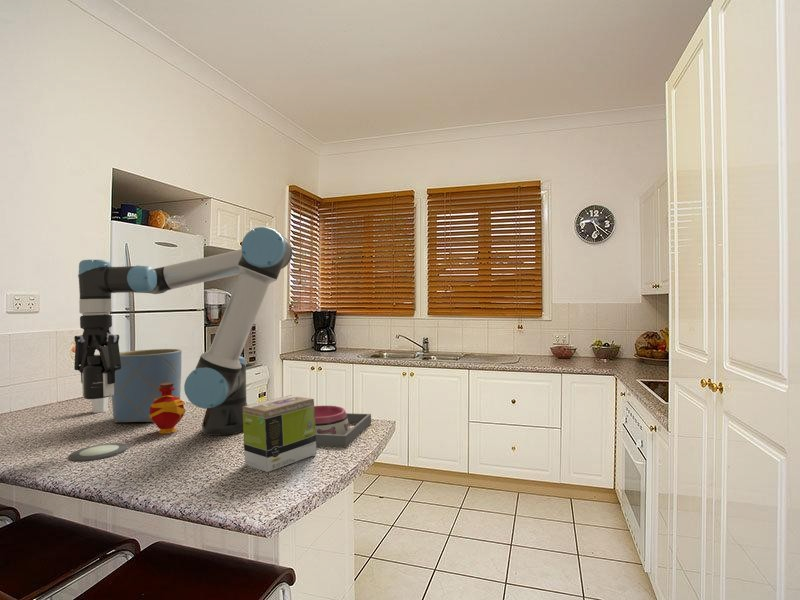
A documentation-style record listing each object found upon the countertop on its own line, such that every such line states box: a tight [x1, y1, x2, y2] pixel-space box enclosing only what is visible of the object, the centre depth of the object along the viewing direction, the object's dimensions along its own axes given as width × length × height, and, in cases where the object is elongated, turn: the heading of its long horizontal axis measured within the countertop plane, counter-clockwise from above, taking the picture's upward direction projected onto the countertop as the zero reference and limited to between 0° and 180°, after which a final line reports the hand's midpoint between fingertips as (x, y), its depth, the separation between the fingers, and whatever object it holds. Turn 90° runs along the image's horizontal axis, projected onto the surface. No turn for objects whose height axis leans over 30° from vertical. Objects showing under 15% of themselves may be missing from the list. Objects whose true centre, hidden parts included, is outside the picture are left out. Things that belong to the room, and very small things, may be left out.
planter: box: [111, 348, 183, 424], centre depth 161 cm, size 23×23×24 cm
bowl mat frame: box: [316, 412, 372, 448], centre depth 136 cm, size 24×24×3 cm
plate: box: [69, 442, 128, 462], centre depth 122 cm, size 13×13×1 cm
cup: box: [91, 397, 109, 414], centre depth 173 cm, size 7×7×11 cm
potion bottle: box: [149, 383, 186, 435], centre depth 142 cm, size 10×10×15 cm
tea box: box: [243, 394, 318, 473], centre depth 112 cm, size 15×10×15 cm, turn 141°
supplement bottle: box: [82, 353, 112, 400], centre depth 127 cm, size 7×7×12 cm
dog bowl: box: [314, 405, 351, 435], centre depth 136 cm, size 18×19×7 cm
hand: (98, 395), depth 127 cm, fingers closed on supplement bottle, 7 cm apart
